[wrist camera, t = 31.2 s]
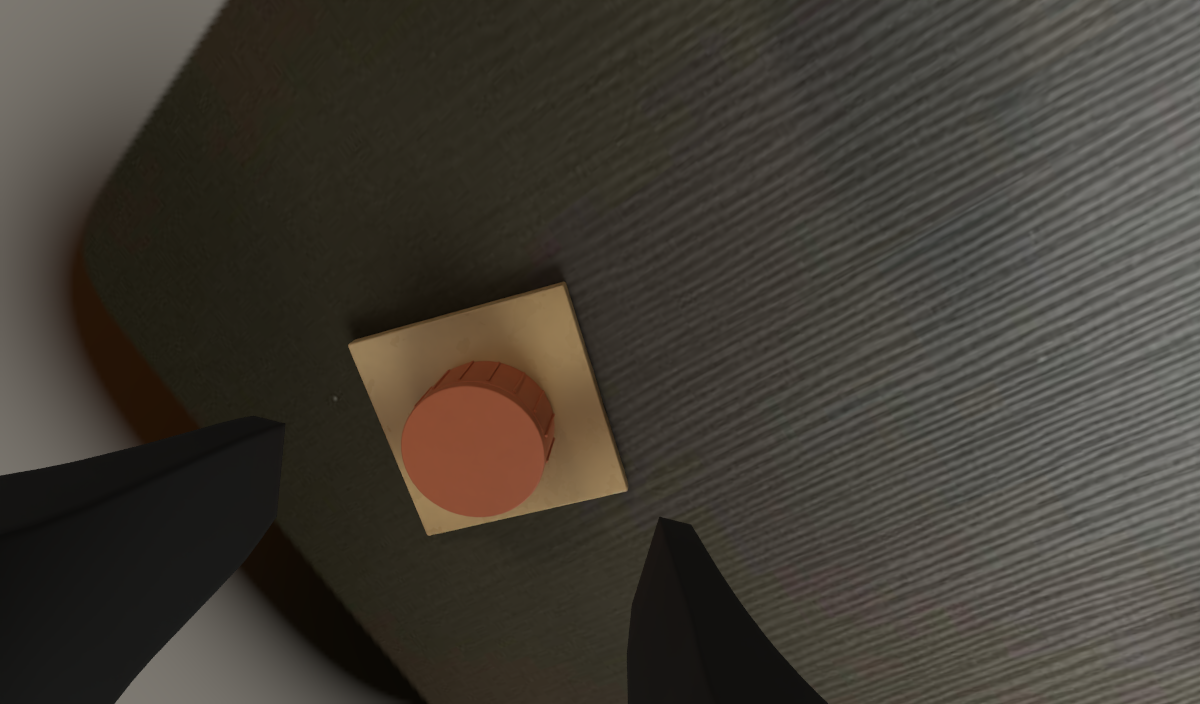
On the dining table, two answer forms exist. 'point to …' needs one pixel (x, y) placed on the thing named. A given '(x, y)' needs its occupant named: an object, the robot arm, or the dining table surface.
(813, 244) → the dining table surface
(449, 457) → the flask cap
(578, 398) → the coaster
